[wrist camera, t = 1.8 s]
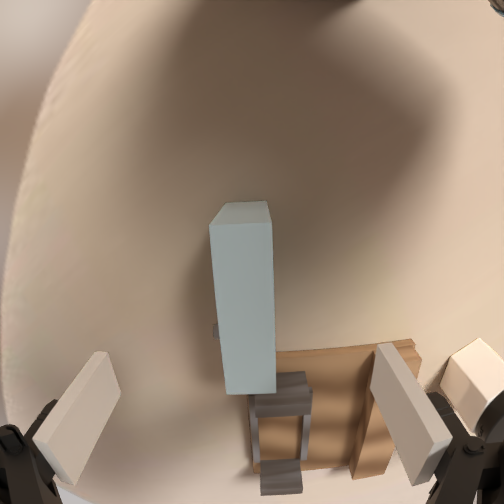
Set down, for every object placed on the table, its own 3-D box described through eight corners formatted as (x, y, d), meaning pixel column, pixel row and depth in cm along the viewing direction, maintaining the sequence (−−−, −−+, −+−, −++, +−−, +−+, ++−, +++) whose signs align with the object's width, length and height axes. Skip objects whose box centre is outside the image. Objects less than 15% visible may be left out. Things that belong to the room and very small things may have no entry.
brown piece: (244, 353, 32) (241, 392, 26) (411, 338, 31) (435, 370, 25) (253, 466, 37) (253, 501, 31) (380, 453, 37) (391, 484, 31)
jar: (428, 381, 33) (470, 447, 21) (470, 329, 31) (527, 385, 19) (462, 398, 34) (500, 455, 22) (499, 353, 32) (547, 403, 21)
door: (214, 203, 28) (191, 226, 18) (266, 200, 28) (271, 222, 18) (224, 327, 31) (212, 394, 21) (271, 326, 31) (276, 393, 21)
